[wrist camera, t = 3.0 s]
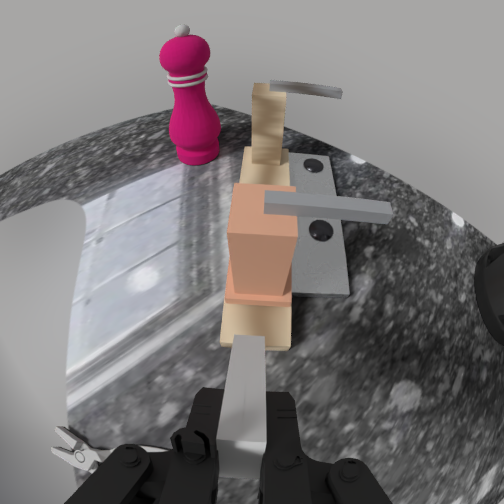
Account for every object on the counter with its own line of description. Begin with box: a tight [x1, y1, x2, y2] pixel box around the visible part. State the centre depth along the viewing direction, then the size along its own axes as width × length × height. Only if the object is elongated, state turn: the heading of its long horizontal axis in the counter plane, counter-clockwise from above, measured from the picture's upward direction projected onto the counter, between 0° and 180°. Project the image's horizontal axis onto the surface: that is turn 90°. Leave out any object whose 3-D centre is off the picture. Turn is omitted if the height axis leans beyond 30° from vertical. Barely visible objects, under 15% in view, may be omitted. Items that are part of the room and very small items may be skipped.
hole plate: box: [289, 153, 350, 298], centre depth 31 cm, size 6×21×1 cm, turn 176°
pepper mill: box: [159, 24, 221, 165], centre depth 30 cm, size 7×7×20 cm
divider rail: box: [220, 80, 342, 351], centre depth 25 cm, size 11×26×13 cm, turn 176°
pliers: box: [51, 426, 169, 473], centre depth 16 cm, size 10×2×15 cm
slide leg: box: [225, 183, 393, 307], centre depth 20 cm, size 11×5×11 cm, turn 86°
